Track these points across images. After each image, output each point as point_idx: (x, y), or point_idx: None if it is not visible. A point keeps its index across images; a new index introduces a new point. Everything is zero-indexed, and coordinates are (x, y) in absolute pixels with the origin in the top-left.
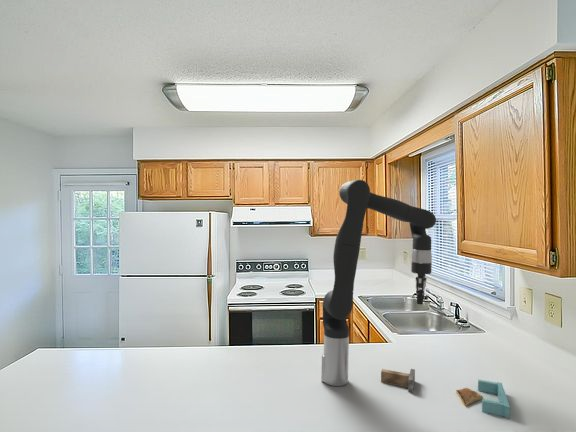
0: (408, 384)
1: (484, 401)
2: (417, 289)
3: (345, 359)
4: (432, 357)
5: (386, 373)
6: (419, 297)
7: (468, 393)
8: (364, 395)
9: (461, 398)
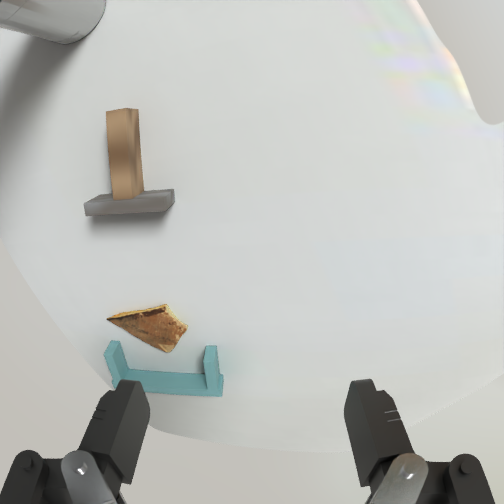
0: (90, 200)
1: (105, 357)
2: (11, 488)
3: (18, 31)
4: (398, 240)
5: (108, 128)
6: (92, 440)
7: (156, 330)
8: (36, 106)
9: (126, 314)
